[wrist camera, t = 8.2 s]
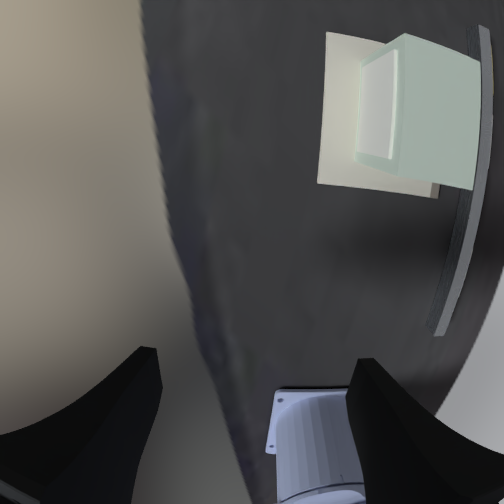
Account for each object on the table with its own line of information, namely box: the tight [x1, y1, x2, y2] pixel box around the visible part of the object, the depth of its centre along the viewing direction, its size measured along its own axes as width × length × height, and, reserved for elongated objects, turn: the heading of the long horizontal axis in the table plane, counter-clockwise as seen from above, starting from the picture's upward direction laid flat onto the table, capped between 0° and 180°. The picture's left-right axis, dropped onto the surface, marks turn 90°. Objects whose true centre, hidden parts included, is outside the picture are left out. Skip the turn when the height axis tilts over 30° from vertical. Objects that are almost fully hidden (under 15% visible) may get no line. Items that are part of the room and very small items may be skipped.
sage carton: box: [354, 33, 481, 190], centre depth 13 cm, size 4×6×6 cm
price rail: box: [426, 24, 493, 336], centre depth 16 cm, size 22×1×2 cm, turn 177°
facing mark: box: [317, 32, 440, 199], centre depth 16 cm, size 9×8×1 cm
